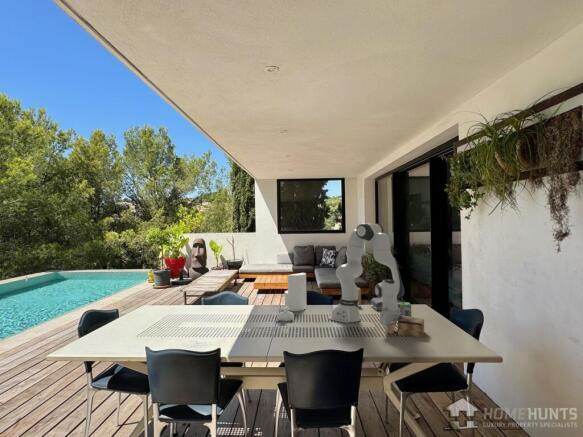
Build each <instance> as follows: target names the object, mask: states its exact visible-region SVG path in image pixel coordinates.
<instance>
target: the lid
mask: <svg viewBox="0 0 583 437" xmlns="http://www.w3.org/2000/svg"><path fill="white" fill-rule="evenodd" d="M398 321H403V322H409V323H415V324H421V325H422V324H423V321H424V322H425V319H424V318H422V317H414V316H412V317H409V316H403V315H400V316H399V318H398V320H397V322H398Z"/></svg>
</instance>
